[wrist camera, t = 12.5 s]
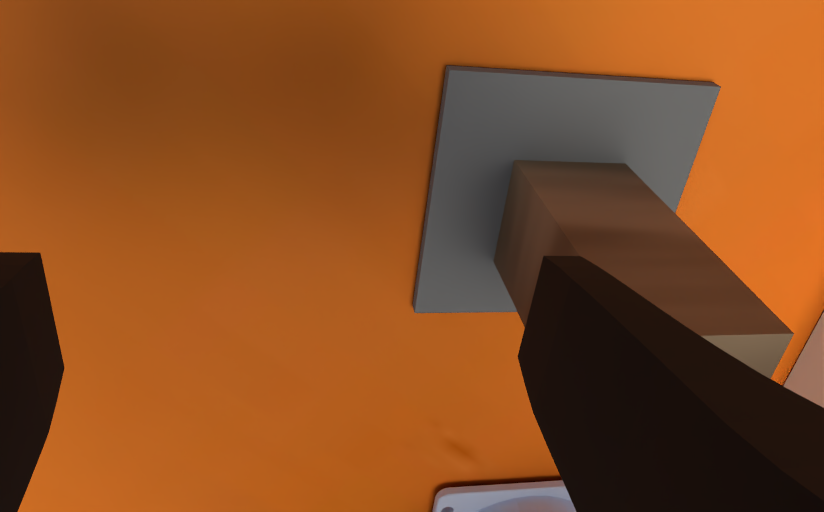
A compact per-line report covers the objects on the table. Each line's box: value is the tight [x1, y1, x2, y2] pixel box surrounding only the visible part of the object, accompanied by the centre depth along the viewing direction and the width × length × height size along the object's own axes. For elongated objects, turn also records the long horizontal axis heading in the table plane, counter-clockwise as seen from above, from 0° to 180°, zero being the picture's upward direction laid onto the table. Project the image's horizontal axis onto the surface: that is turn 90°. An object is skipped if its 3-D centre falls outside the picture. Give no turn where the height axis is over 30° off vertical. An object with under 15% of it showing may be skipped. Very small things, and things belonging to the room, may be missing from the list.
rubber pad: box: [413, 65, 721, 313], centre depth 21 cm, size 8×8×1 cm
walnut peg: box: [493, 160, 794, 379], centre depth 18 cm, size 4×4×8 cm
